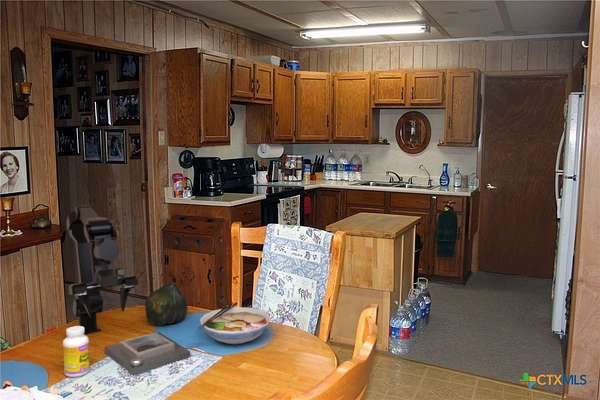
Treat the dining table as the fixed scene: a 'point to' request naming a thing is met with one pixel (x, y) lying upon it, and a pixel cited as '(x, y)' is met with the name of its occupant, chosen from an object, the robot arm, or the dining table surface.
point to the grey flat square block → (146, 352)
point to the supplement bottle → (76, 352)
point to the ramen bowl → (235, 324)
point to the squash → (166, 305)
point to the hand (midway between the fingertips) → (107, 314)
